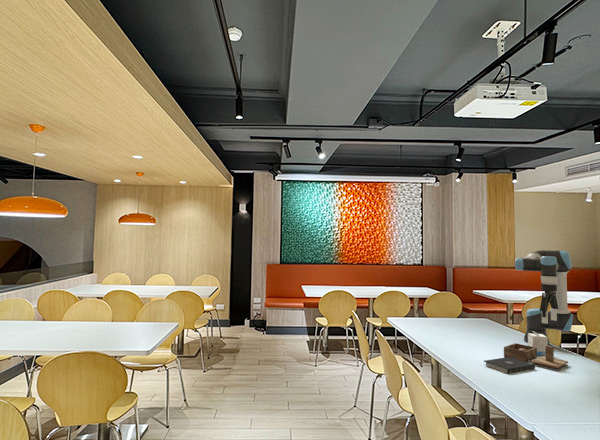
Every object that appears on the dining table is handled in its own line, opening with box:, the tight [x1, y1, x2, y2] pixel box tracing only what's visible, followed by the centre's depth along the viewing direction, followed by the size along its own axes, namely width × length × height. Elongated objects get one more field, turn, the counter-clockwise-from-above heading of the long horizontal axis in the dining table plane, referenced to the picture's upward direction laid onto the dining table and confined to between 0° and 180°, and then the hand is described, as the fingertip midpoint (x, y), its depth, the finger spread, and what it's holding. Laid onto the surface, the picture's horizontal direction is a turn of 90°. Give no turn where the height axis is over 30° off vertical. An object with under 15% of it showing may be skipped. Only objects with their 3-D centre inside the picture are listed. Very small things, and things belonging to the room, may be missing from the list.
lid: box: [530, 345, 569, 368], centre depth 213 cm, size 17×13×10 cm
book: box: [483, 357, 536, 375], centre depth 207 cm, size 22×15×3 cm
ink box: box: [527, 331, 549, 357], centre depth 235 cm, size 9×8×13 cm
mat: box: [531, 362, 569, 372], centre depth 212 cm, size 16×13×1 cm
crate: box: [503, 342, 538, 363], centre depth 226 cm, size 16×12×6 cm
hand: (549, 321), depth 214 cm, fingers open, 13 cm apart
